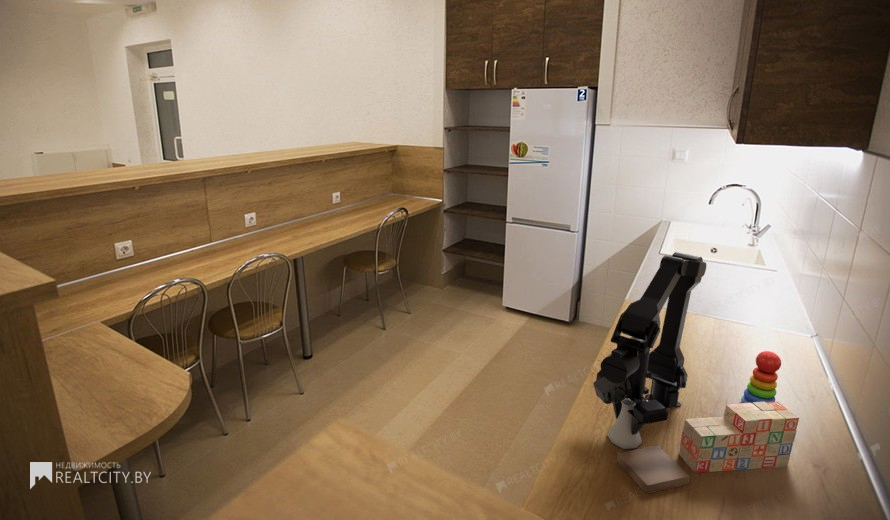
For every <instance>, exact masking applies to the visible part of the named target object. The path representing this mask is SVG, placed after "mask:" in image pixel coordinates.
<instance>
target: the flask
mask: <svg viewBox="0 0 890 520" xmlns="http://www.w3.org/2000/svg"><path fill="white" fill-rule="evenodd" d="M621 403H622V409H621V412H620V414H619V416H618V418H617V419H615V422H614V424H612V426H611V428H610V429H609V431H608V433H607V437H608V439H609V441H610V442H611V443H612V444H614V445H615V446H617V447H619V448H621V449H623V450H624V449H625V450H626V449H630V450H631V449H638V447H639V446H640V445H642V443H643V441H642V437H641V434H640V431H639V432H638V433H637V434H635V435H632V433H631V423H632V415H631V414H630V413H629V412H628V410H633V407H634V406H635V405H636V403H635V402H633V401H630V400H629V399H626V398H625V399H624V400H623V401H621Z"/></svg>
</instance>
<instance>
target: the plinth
mask: <svg viewBox="0 0 890 520" xmlns="http://www.w3.org/2000/svg"><path fill="white" fill-rule="evenodd" d="M616 462H617V463H618V465H619V466H620V467H622V469H623V470H624V471H625V472H626V473H627V474H628V475H629V476H630V478H631V479H632V478H633V479H634V480H635V481H636V482H637V483H638V484H639V485H638V484H637V483H636V482H635V481H634V480H633V481H634V482H635V483H636V484H637V485H638V486H639V487H640V488H641V490H642V489H643V490H642V491H643V492H644V493H645V494H650V492H652V493H656V492H659V490H661V491H664V489H665V490H669V489H673V488H672V487H674V488H678V487H682V485H683V486H686V485H689V484H690V483H689V482H690V478H691V476H690V475H689V474H688V473H687V471H686V470H684V469H683V468H682V467H681V466H680V465H679V464H678V463H677V462H675V461H674V459H673V458H671V457H670V456H669V455H668V454H667V453H666V452H665V451H664V450H663V449H662V448H661V447H660V446H659V445H651V446H649V447H648V446H647V447H642V448H636V449H633V450H632V449H631V450H628V451H623V452H618V453H617V455H616ZM668 488H669V489H668ZM655 491H656V492H655Z"/></svg>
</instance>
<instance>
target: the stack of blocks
mask: <svg viewBox="0 0 890 520" xmlns="http://www.w3.org/2000/svg"><path fill="white" fill-rule="evenodd" d="M739 403H740V402H739ZM739 403H731V404H726V405H725V409H724V414H723V416H714V417H711V416H710V417H698V418H697V417H695V418H685V419H684V424H683V427H682V428H683V429H682V431H681V432H682V433H681V438H680V444H679V450H678V451H679V452H678V455H679V456H680V457H681V458H682V459H683V461H684V462H685V463H686V465H687V466H688V467H689V468H690V469H691V471H693V472H694V473H705V472H706V473H707V472H709V473H710V472H712V473H713V472H727V471H738V470H739V471H740V470H741V471H742V470H750V469H766V468H768V469H769V468H785V467H788V466H789V461H790V458H791V453H792V449H793V446H794V442H795V440H796V435H797V428H798V425H799V420H800V417H799V416H798V415H796V414H795V413H794V412H793V411H791V410H789V409H788V408H787V407H786V406H784V405H783V404H781V403H780V402H779V401H775V402H753V403H740V404H739Z"/></svg>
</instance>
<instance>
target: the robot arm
mask: <svg viewBox="0 0 890 520" xmlns="http://www.w3.org/2000/svg"><path fill="white" fill-rule="evenodd" d="M706 270H707V262H705V261H704V260H703V257H702V256H698V255H693V254H687V253H682V252H677V251H674V252H673V254H672V255H670V254H669V255H666V254H664V256H662V258H661V259H660V263H659V267H658V270H656V273H655V274H654V276H653V277H652V279H651V281H650V283H649V284H648V286H647V287H646V289H645V291H644V292H643V294H642V296H641V297H640V299H638V300H635V301H633V302H631V303H630V304H629V305H628V306H627V307H626V309H625V310H624V312H622V313H621V314H620V316H619V319H618V321H617V323H616V326H615V329H613V330H614V331H613V333H612V335H611V338H610V342H611V343H613V344H616V348H614V349H612V351H611V353H610V354H608V355H607V356H606V357H604V358H603V359H602V361H601V363H600V370H599V371H598V372H597V373H596V379H595V381H594V382H593V388H594V391H595V394H596V396H597V397H598V398H599V399H600V400H601V401H602V402H603V403H604V404H605V405H609V404H610V405H611V404H612V406H613V412H614V415H615V420H617V418H618V416H619V414H620V412H621V409H622V403H621V401H623V400H624V399H625V398H626V399H629V400H630V401H633V402H635V403H636V405H635V406H634V407H633V410H628V412H629V413H630V414H631V415H632V423H631V433H632V435H635V434H637V433H638V432H639V433H640V431H641V430H642V428H643V427H644V426H645V425H649V424H656V423H660V422H665V421H668V419H669V413H670V410H669V409H672V408H678V407H681V406H682V403H681V402H679V394H680V392H679V391H680V390H681V389H686V388H687V381H688V373H687V371H686V369H685V367H684V364H685V356H684V354H683V352H682V349H681V343H682V336H683V333H684V326H685V323H686V318H687V314H688V308H689V303H690V298H691V295H692V294H691V293H692V291H693V290H694V289H695V288H696V287H698V285H699V284H700V283H701V282H702V278H703V277H704V276H705V273H706ZM666 303H667V304H666ZM665 304H666V310H665V313H664V320H663V325H662V329H661V317H660V314H661V311H662V309H663V307H664V305H665ZM660 333H661V334H660ZM621 334H624V335H626V336H629V337H626V336H623V335H621ZM659 335H660V339H659V344H658V345H657V346H656V347H655V348H654V345H655V344H656V342H657V340H658V337H659ZM653 348H654V349H653ZM651 349H653V350H652V351H651ZM647 379H649V380H651V387H650V389H649V388H648V387H647V386H646V382H647Z"/></svg>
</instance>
